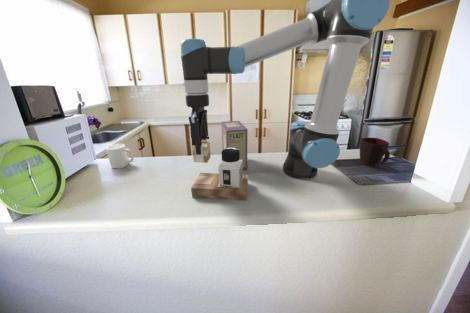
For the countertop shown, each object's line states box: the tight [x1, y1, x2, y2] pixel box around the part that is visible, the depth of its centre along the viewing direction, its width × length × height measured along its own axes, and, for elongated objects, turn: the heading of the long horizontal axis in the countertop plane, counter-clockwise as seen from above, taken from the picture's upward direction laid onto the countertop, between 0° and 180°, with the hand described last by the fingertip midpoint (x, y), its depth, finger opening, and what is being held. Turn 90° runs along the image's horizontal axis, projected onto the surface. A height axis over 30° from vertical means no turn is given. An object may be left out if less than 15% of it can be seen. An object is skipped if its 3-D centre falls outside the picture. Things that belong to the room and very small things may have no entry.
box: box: [220, 120, 248, 172], centre depth 97 cm, size 17×9×20 cm, turn 11°
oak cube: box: [191, 141, 211, 164], centre depth 74 cm, size 5×5×6 cm
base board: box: [190, 172, 249, 201], centre depth 78 cm, size 20×12×4 cm, turn 83°
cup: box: [105, 143, 135, 169], centre depth 100 cm, size 8×12×10 cm
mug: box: [359, 137, 391, 168], centre depth 94 cm, size 10×14×12 cm
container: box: [217, 148, 244, 187], centre depth 75 cm, size 8×8×13 cm
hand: (202, 158), depth 75 cm, fingers closed on oak cube, 5 cm apart
